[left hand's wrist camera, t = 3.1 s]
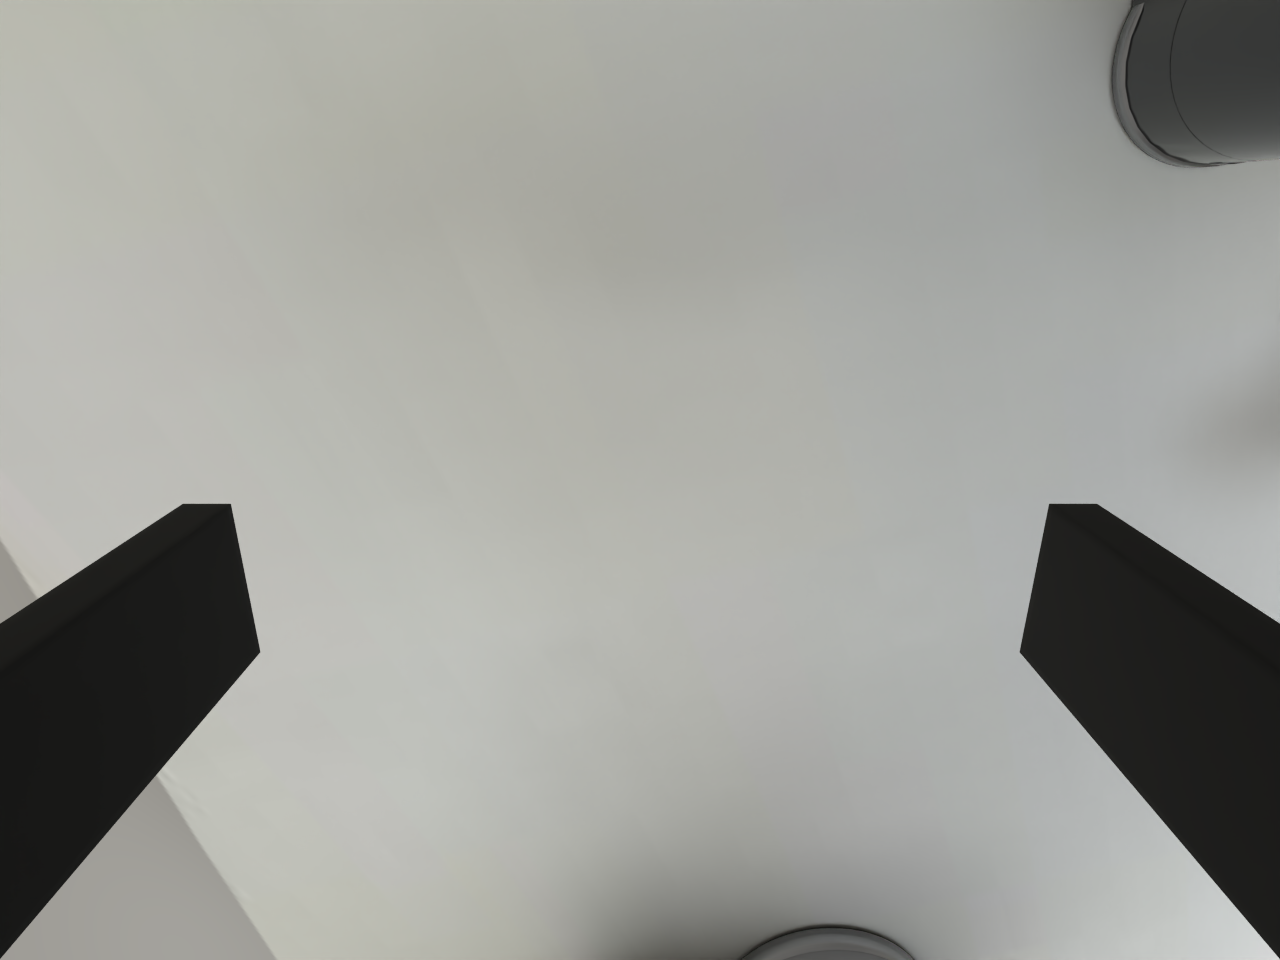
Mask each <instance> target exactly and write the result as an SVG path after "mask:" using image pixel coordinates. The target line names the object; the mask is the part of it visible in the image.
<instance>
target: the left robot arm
mask: <svg viewBox="0 0 1280 960" xmlns="http://www.w3.org/2000/svg"><path fill="white" fill-rule="evenodd" d="M259 653H260V648H259V643H258V638H257V633H256V628H255V623H254V618H253V613H252V608H251V603H250V598H249V593H248V588H247V583H246V578H245V573H244V568H243V563H242V558H241V553H240V548H239V543H238V538H237V533H236V528H235V523H234V518H233V513H232V508H231V504H182V505H181V506H179V507H178V508H176V509H174V510H173V511H171V512H170V513H168V514H167V515H165V516H164V517H162V518H161V519H159V520H158V521H156V522H155V523H153V524H152V525H150V526H149V527H147V528H145V529H144V530H142V531H141V532H139V533H138V534H136V535H135V536H133V537H132V538H130V539H129V540H127V541H126V542H124V543H123V544H121V545H120V546H118V547H117V548H115V549H113V550H112V551H110V552H109V553H107V554H106V555H104V556H103V557H101V558H100V559H98V560H97V561H95V562H94V563H92V564H91V565H89V566H88V567H86V568H84V569H83V570H81V571H80V572H78V573H77V574H75V575H74V576H72V577H71V578H69V579H68V580H66V581H65V582H63V583H62V584H60V585H59V586H57V587H55V588H54V589H52V590H51V591H49V592H48V593H46V594H45V595H43V596H42V597H40V598H39V599H37V600H36V601H34V602H33V603H31V604H30V605H28V606H26V607H25V608H23V609H22V610H21V611H19V612H17V613H16V614H14V615H13V616H11V617H10V618H8V619H7V620H5V621H4V622H2V623H1V624H0V958H1V957H2V956H3V955H4V954H5V952H6V951H7V950H8V949H9V948H10V947H11V945H12V944H13V943H14V942H15V941H16V940H17V938H18V937H19V936H20V935H21V934H22V932H23V931H24V930H25V929H26V928H27V927H28V925H29V924H30V923H31V922H32V921H33V919H34V918H35V917H36V916H37V915H38V914H39V912H40V911H41V910H42V909H43V908H44V907H45V905H46V904H47V903H48V902H49V901H50V899H51V898H52V897H53V896H54V895H55V893H56V892H57V891H58V890H59V889H60V888H61V886H62V885H63V884H64V883H65V882H66V881H67V879H68V878H69V877H70V876H71V875H72V874H73V872H74V871H75V870H76V869H77V868H78V866H79V865H80V864H81V863H82V862H83V860H84V859H85V858H86V857H87V856H88V855H89V853H90V852H91V851H92V850H93V849H94V848H95V846H96V845H97V844H98V843H99V842H100V840H101V839H102V838H103V837H104V836H105V835H106V833H107V832H108V831H109V830H110V829H111V827H112V826H113V825H114V824H115V823H116V822H117V820H118V819H119V818H120V817H121V816H122V815H123V813H124V812H125V811H126V810H127V809H128V807H129V806H130V805H131V804H132V803H133V802H134V800H135V799H136V798H137V797H138V796H139V794H140V793H141V792H142V791H143V790H144V789H145V787H146V786H147V785H148V784H149V783H150V782H151V780H152V779H153V778H154V777H155V776H156V774H157V773H158V772H159V771H160V770H161V769H162V767H163V766H164V765H165V764H166V763H167V761H168V760H169V759H170V758H171V757H172V756H173V754H174V753H175V752H176V751H177V750H178V749H179V747H180V746H181V745H182V744H183V743H184V741H185V740H186V739H187V738H188V737H189V736H190V734H191V733H192V732H193V731H194V730H195V728H196V727H197V726H198V725H199V724H200V723H201V721H202V720H203V719H204V718H205V717H206V716H207V714H208V713H209V712H210V711H211V710H212V708H213V707H214V706H215V705H216V704H217V703H218V701H219V700H220V699H221V698H222V697H223V695H224V694H225V693H226V692H227V691H228V690H229V688H230V687H231V686H232V685H233V684H234V682H235V681H236V680H237V679H238V678H239V677H240V675H241V674H242V673H243V672H244V671H245V670H246V668H247V667H248V666H249V665H250V664H251V662H252V661H253V660H254V659H255V658H256V657H257V655H258V654H259ZM1020 653H1021V654H1022V655H1023V657H1024V658H1025V659H1026V660H1027V661H1028V662H1029V664H1030V665H1031V666H1032V667H1033V668H1034V670H1035V671H1036V672H1037V673H1038V674H1039V675H1040V677H1041V678H1042V679H1043V680H1044V681H1045V682H1046V684H1047V685H1048V686H1049V687H1050V688H1051V690H1052V691H1053V692H1054V693H1055V694H1056V695H1057V697H1058V698H1059V699H1060V700H1061V701H1062V703H1063V704H1064V705H1065V706H1066V707H1067V708H1068V710H1069V711H1070V712H1071V713H1072V714H1073V716H1074V717H1075V718H1076V719H1077V720H1078V721H1079V723H1080V724H1081V725H1082V726H1083V727H1084V728H1085V730H1086V731H1087V732H1088V733H1089V734H1090V736H1091V737H1092V738H1093V739H1094V740H1095V741H1096V743H1097V744H1098V745H1099V746H1100V747H1101V749H1102V750H1103V751H1104V752H1105V753H1106V754H1107V756H1108V757H1109V758H1110V759H1111V760H1112V761H1113V763H1114V764H1115V765H1116V766H1117V767H1118V769H1119V770H1120V771H1121V772H1122V773H1123V774H1124V776H1125V777H1126V778H1127V779H1128V780H1129V782H1130V783H1131V784H1132V785H1133V786H1134V787H1135V789H1136V790H1137V791H1138V792H1139V793H1140V795H1141V796H1142V797H1143V798H1144V799H1145V800H1146V802H1147V803H1148V804H1149V805H1150V806H1151V807H1152V809H1153V810H1154V811H1155V812H1156V813H1157V815H1158V816H1159V817H1160V818H1161V819H1162V820H1163V822H1164V823H1165V824H1166V825H1167V826H1168V828H1169V829H1170V830H1171V831H1172V832H1173V833H1174V835H1175V836H1176V837H1177V838H1178V839H1179V840H1180V842H1181V843H1182V844H1183V845H1184V846H1185V848H1186V849H1187V850H1188V851H1189V852H1190V853H1191V855H1192V856H1193V857H1194V858H1195V859H1196V861H1197V862H1198V863H1199V864H1200V865H1201V866H1202V868H1203V869H1204V870H1205V871H1206V872H1207V874H1208V875H1209V876H1210V877H1211V878H1212V879H1213V881H1214V882H1215V883H1216V884H1217V885H1218V886H1219V888H1220V889H1221V890H1222V891H1223V892H1224V894H1225V895H1226V896H1227V897H1228V898H1229V899H1230V901H1231V902H1232V903H1233V904H1234V905H1235V907H1236V908H1237V909H1238V910H1239V911H1240V912H1241V914H1242V915H1243V916H1244V917H1245V918H1246V919H1247V921H1248V922H1249V923H1250V924H1251V925H1252V927H1253V928H1254V929H1255V930H1256V931H1257V932H1258V934H1259V935H1260V936H1261V937H1262V938H1263V940H1264V941H1265V942H1266V943H1267V944H1268V945H1269V947H1270V948H1271V949H1272V950H1273V951H1274V953H1275V954H1276V955H1277V956H1278V957H1279V958H1280V624H1279V623H1278V622H1276V621H1275V620H1273V619H1272V618H1270V617H1269V616H1267V615H1266V614H1264V613H1263V612H1261V611H1260V610H1258V609H1257V608H1255V607H1253V606H1252V605H1250V604H1249V603H1247V602H1246V601H1244V600H1243V599H1241V598H1240V597H1238V596H1237V595H1235V594H1234V593H1232V592H1231V591H1229V590H1228V589H1226V588H1225V587H1223V586H1221V585H1220V584H1218V583H1217V582H1215V581H1214V580H1212V579H1211V578H1209V577H1208V576H1206V575H1205V574H1203V573H1202V572H1200V571H1199V570H1197V569H1196V568H1194V567H1192V566H1191V565H1189V564H1188V563H1186V562H1185V561H1183V560H1182V559H1180V558H1179V557H1177V556H1176V555H1174V554H1173V553H1171V552H1170V551H1168V550H1167V549H1165V548H1163V547H1162V546H1160V545H1159V544H1157V543H1156V542H1154V541H1153V540H1151V539H1150V538H1148V537H1147V536H1145V535H1144V534H1142V533H1141V532H1139V531H1138V530H1136V529H1135V528H1133V527H1131V526H1130V525H1128V524H1127V523H1125V522H1124V521H1122V520H1121V519H1119V518H1118V517H1116V516H1115V515H1113V514H1112V513H1110V512H1109V511H1107V510H1106V509H1104V508H1102V507H1101V506H1099V505H1098V504H1049V508H1048V513H1047V518H1046V523H1045V528H1044V533H1043V538H1042V543H1041V548H1040V553H1039V558H1038V563H1037V568H1036V573H1035V578H1034V583H1033V588H1032V593H1031V598H1030V603H1029V608H1028V613H1027V618H1026V623H1025V628H1024V633H1023V638H1022V643H1021V648H1020ZM742 960H913V958H912V957H911V956H910V955H909V954H907V953H906V952H905V951H904V950H903V949H901V948H900V947H899V946H897V945H895V944H894V943H892V942H890V941H888V940H886V939H884V938H882V937H879V936H876V935H874V934H870V933H867V932H863V931H858V930H853V929H844V928H819V929H810V930H804V931H799V932H795V933H791V934H788V935H785V936H782V937H779V938H776V939H774V940H772V941H769V942H767V943H766V944H764V945H762V946H760V947H758V948H757V949H755V950H754V951H752V952H751V953H749V954H748V955H747V956H745V957H744V958H743V959H742Z"/></svg>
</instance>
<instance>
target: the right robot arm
mask: <svg viewBox="0 0 1280 960" xmlns="http://www.w3.org/2000/svg"><path fill="white" fill-rule="evenodd" d="M1112 82H1113V95H1114V102H1115V106H1116V110H1117V113H1118V116H1119V118H1120V121H1121V123H1122V125H1123V127H1124V129H1125V131H1126V132H1127V134H1128V135H1129V137H1130V138H1131V139H1132V140H1133V141H1134V143H1135V144H1136V145H1137V146H1138V147H1139V148H1140V149H1141V150H1143V151H1144V152H1145V153H1147V154H1148V155H1149V156H1151V157H1153V158H1155V159H1157V160H1159V161H1161V162H1164V163H1166V164H1170V165H1174V166H1179V167H1192V168H1196V167H1210V166H1219V165H1225V164H1236V163H1243V162H1250V161H1264V160H1279V159H1280V0H1133V8H1132V10H1131V12H1130V14H1129V16H1128V18H1127V20H1126V22H1125V24H1124V27H1123V29H1122V32H1121V34H1120V38H1119V41H1118V44H1117V48H1116V52H1115V57H1114V64H1113V78H1112Z"/></svg>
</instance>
